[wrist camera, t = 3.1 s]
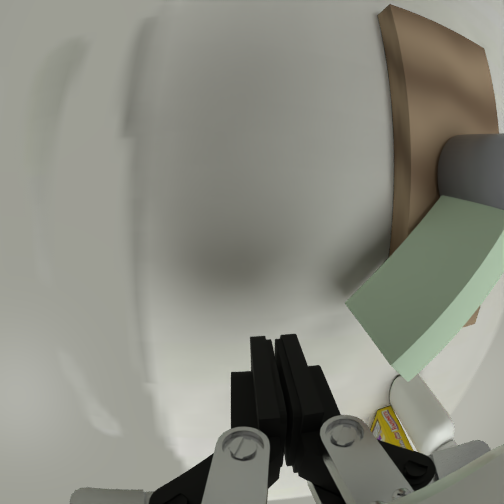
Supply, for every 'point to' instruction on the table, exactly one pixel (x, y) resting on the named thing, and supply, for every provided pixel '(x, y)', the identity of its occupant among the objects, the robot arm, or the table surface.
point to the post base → (430, 108)
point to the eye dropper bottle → (422, 415)
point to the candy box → (389, 428)
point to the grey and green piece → (440, 260)
